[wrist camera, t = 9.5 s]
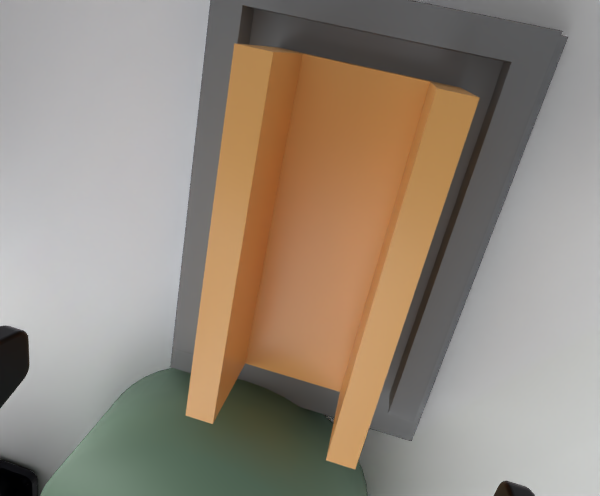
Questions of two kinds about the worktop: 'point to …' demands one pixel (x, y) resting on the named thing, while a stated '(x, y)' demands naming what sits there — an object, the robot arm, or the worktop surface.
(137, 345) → the worktop surface
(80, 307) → the worktop surface
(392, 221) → the chute
